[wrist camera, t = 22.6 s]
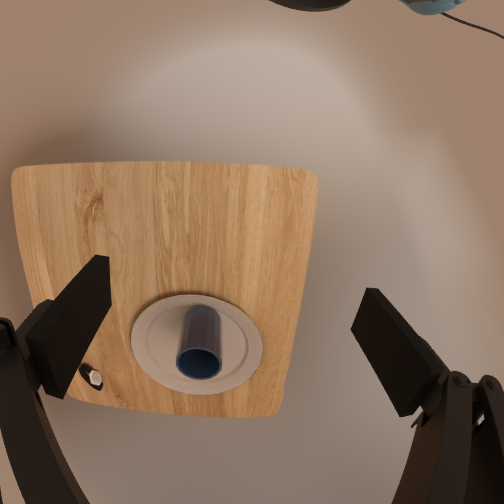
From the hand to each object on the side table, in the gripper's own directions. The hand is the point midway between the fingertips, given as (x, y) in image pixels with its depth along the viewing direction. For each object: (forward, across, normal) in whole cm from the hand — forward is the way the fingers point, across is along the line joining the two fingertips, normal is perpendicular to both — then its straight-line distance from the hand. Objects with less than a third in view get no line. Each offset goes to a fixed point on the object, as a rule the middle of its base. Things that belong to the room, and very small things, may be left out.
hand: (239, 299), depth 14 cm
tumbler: (+30, +2, +24) cm, 38 cm away
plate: (+33, +2, +31) cm, 45 cm away
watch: (+33, +26, +45) cm, 61 cm away
